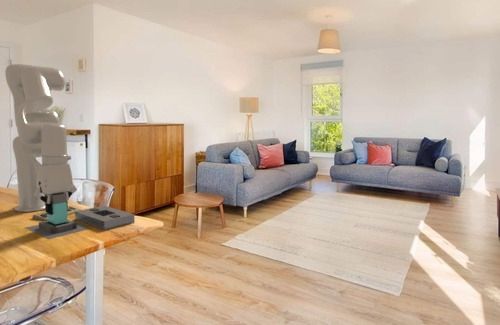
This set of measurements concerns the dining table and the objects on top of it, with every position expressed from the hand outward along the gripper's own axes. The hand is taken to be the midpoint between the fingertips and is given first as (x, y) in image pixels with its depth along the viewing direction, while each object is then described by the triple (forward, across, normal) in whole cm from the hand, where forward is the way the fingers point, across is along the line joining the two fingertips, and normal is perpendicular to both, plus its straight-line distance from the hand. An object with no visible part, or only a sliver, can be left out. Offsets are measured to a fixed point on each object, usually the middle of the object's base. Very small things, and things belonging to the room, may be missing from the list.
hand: (56, 212), depth 117 cm
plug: (+3, 0, 0) cm, 3 cm away
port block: (+7, -15, +5) cm, 17 cm away
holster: (+7, 0, +1) cm, 7 cm away
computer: (+8, -8, -16) cm, 20 cm away
